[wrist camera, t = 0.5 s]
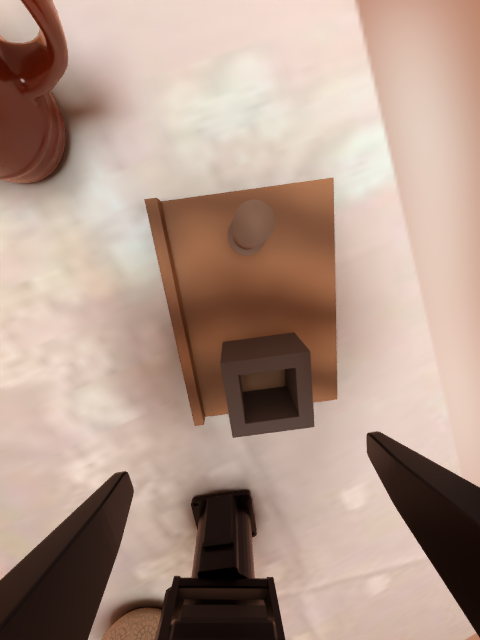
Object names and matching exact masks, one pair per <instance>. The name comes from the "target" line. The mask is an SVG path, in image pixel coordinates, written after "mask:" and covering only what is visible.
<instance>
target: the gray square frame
mask: <svg viewBox="0 0 480 640" xmlns="http://www.w3.org/2000/svg"><path fill="white" fill-rule="evenodd" d="M220 365H221V371H222V377H223V383H224V389H225V395H226V401H227V406H228V412H229V418H230V424H231V430H232V436H233V438H234V437H242V436H250V435H257V434H265V433H272V432H280V431H287V430H295V429H302V428H310V427H314V411H313V392H312V372H311V353H310V350H309V349H308V348H307V347H306V346H305V344H304V343H303V342H302V341H301V340H300V338H299V337H298V336H297V335H296V334H295V332H292V333H285V334H277V335H270V336H263V337H255V338H248V339H240V340H233V341H226V342H223V345H222V353H221V361H220ZM283 369H285V377H286V386H283V387H276V388H268V389H261V390H253V391H246V392H243V389H242V382H241V376H240V375H246V374H253V373H261V372H268V371H276V370H283Z"/></svg>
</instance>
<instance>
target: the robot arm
mask: <svg viewBox="0 0 480 640" xmlns="http://www.w3.org/2000/svg"><path fill="white" fill-rule="evenodd" d="M367 454H368V457H369V459H370V461H371V463H372V464H373V466H374V468H375V470H376V472H377V474H378V476H379V478H380V479H381V481H382V483H383V485H384V487H385V489H386V491H387V493H388V494H389V496H390V498H391V500H392V502H393V504H394V505H395V507H396V509H397V510H398V512H399V513H400V515H401V516H402V518H403V520H404V521H405V523H406V524H407V526H408V527H409V529H410V530H411V532H412V533H413V535H414V537H415V538H416V540H417V541H418V543H419V544H420V546H421V547H422V549H423V551H424V552H425V554H426V555H427V557H428V558H429V560H430V561H431V563H432V564H433V566H434V568H435V569H436V571H437V572H438V574H439V575H440V577H441V578H442V580H443V581H444V583H445V585H446V586H447V588H448V589H449V591H450V592H451V594H452V595H453V597H454V598H455V600H456V602H457V603H458V605H459V606H460V608H461V609H462V611H463V612H464V614H465V615H466V617H467V619H468V620H469V622H470V623H471V625H472V626H473V628H474V629H475V631H476V633H477V634H478V636H479V637H480V487H478V486H476V485H474V484H472V483H471V482H469V481H467V480H465V479H463V478H462V477H460V476H458V475H456V474H454V473H453V472H451V471H449V470H447V469H445V468H444V467H442V466H440V465H438V464H436V463H435V462H433V461H431V460H429V459H427V458H426V457H424V456H422V455H420V454H419V453H417V452H415V451H413V450H411V449H410V448H408V447H406V446H404V445H402V444H401V443H399V442H397V441H395V440H393V439H392V438H390V437H388V436H386V435H384V434H383V433H381V432H377V431H376V432H370V433H368V434H367ZM133 493H134V490H133V485H132V482H131V480H130V477H129V474H128V472H126V471H124V472H118V473H115V474H114V475H112V476H111V477H110V478H109V479H108V480H107V481H106V482H105V483H104V484H103V485H102V486H101V487H100V488H99V489H97V490H96V491H95V492H94V493H93V494H92V495H91V496H90V497H89V498H88V499H87V500H86V501H85V502H84V503H82V504H81V505H80V506H79V507H78V508H77V509H76V510H75V511H74V512H73V513H72V514H71V515H70V516H69V517H67V518H66V519H65V520H64V521H63V522H62V523H61V524H60V525H59V526H58V527H57V528H56V529H55V530H54V531H53V532H51V533H50V534H49V535H48V536H47V537H46V538H45V539H44V540H43V541H42V542H41V543H40V544H39V545H38V546H36V547H35V548H34V549H33V550H32V551H31V552H30V553H29V554H28V555H27V556H26V557H25V558H24V559H23V560H21V561H20V562H19V563H18V564H17V565H16V566H15V567H14V568H13V569H12V570H11V571H10V572H9V573H8V574H6V575H5V576H4V577H3V578H2V579H1V580H0V640H88V637H89V634H90V631H91V628H92V625H93V623H94V620H95V617H96V614H97V611H98V608H99V605H100V602H101V600H102V597H103V594H104V591H105V588H106V585H107V582H108V579H109V577H110V574H111V571H112V568H113V565H114V562H115V559H116V556H117V553H118V550H119V547H120V543H121V540H122V536H123V532H124V529H125V525H126V521H127V517H128V513H129V510H130V506H131V502H132V498H133ZM191 506H192V510H193V514H194V518H195V522H196V526H197V530H198V531H197V539H196V547H195V554H194V562H193V570H192V577H191V578H180V576H174V579H173V584H172V587H170V588H169V589H167V590H166V593H165V598H164V603H163V608H162V612H161V617H160V621H159V625H158V628H157V632H156V635H155V638H154V640H285V636H284V631H283V625H282V620H281V615H280V610H279V605H278V599H277V594H276V589H275V584H274V579H273V577H267V579H260V578H255V577H254V562H253V547H252V537H255V536H256V535H257V531H256V524H255V517H254V511H253V505H252V498H251V493H250V492H249V491H240V492H232V493H225V494H217V495H210V496H202V497H195V498H193V499H192V502H191Z"/></svg>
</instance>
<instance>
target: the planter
mask: <svg viewBox="0 0 480 640" xmlns="http://www.w3.org/2000/svg"><path fill="white" fill-rule="evenodd" d="M161 612H162V610H161V609H158V608H139V609H135V610H133V611H130V612H128V613H127V614H125V615H124V616H122V617H121V618H120V619H118V620H117V621H116V622H115V623H114V624H113V625H112V626H111V627H110V628H109V629H108V631H107V632H106V633H105V635H104V636H103V638H102V639H101V640H154V638H155V635H156V632H157V628H158V625H159V621H160V617H161Z"/></svg>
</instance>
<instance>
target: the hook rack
mask: <svg viewBox="0 0 480 640" xmlns="http://www.w3.org/2000/svg"><path fill="white" fill-rule="evenodd" d="M144 200H145V204H146V209H147V213H148V218H149V222H150V227H151V231H152V236H153V240H154V245H155V249H156V254H157V258H158V263H159V267H160V272H161V276H162V281H163V285H164V290H165V294H166V299H167V303H168V308H169V312H170V317H171V321H172V326H173V330H174V335H175V339H176V344H177V348H178V353H179V357H180V362H181V366H182V371H183V375H184V380H185V384H186V389H187V393H188V398H189V402H190V407H191V411H192V416H193V420H194V425H195V426H197V425H204V421H205V417H208V416H215V415H223V414H229V412H228V406H227V401H226V395H225V389H224V383H223V377H222V371H221V365H220V361H221V353H222V345H223V342H226V341H233V340H240V339H248V338H255V337H263V336H270V335H277V334H285V333H292V332H295V334H296V335H297V336H298V337H299V338H300V340H301V341H302V342H303V343H304V344H305V346H306V347H307V348H308V349H309V350H310V353H311V372H312V392H313V402H320V401H327V400H335V399H337V350H336V295H335V240H334V185H333V178H328V179H321V180H314V181H306V182H299V183H292V184H285V185H278V186H270V187H263V188H256V189H249V190H241V191H234V192H227V193H220V194H213V195H205V196H198V197H191V198H184V199H177V200H169V201H162V202H161V201H160V200H159V199H157V198H152V199H144ZM240 376H241V382H242V389H243V392H246V391H253V390H261V389H268V388H276V387H283V386H286V377H285V369H283V370H276V371H268V372H261V373H253V374H246V375H240Z"/></svg>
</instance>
